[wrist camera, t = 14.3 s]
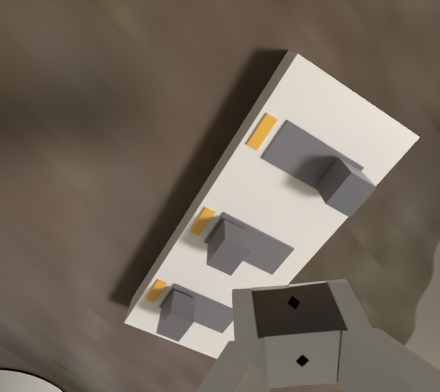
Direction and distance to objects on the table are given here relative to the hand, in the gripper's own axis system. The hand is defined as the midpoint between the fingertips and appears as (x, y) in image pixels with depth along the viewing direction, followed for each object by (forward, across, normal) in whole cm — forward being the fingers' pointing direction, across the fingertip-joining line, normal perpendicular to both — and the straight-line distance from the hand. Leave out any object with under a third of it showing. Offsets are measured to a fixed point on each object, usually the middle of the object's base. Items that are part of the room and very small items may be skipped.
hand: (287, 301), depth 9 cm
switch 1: (+14, +7, +14) cm, 21 cm away
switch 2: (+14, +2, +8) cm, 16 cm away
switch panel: (+18, 0, +9) cm, 20 cm away
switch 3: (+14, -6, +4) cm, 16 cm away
